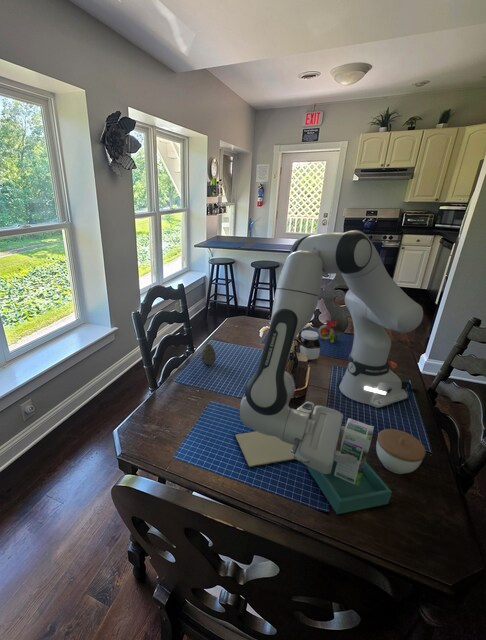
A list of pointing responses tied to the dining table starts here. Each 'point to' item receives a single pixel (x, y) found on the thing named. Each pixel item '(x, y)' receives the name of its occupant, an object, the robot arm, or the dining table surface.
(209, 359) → the decorative egg
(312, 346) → the spread jar
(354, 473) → the syrup box
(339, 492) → the teal green tray
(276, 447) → the felt mat
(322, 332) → the bird rattle
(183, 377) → the dining table surface
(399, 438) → the trinket box
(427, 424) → the dining table surface
